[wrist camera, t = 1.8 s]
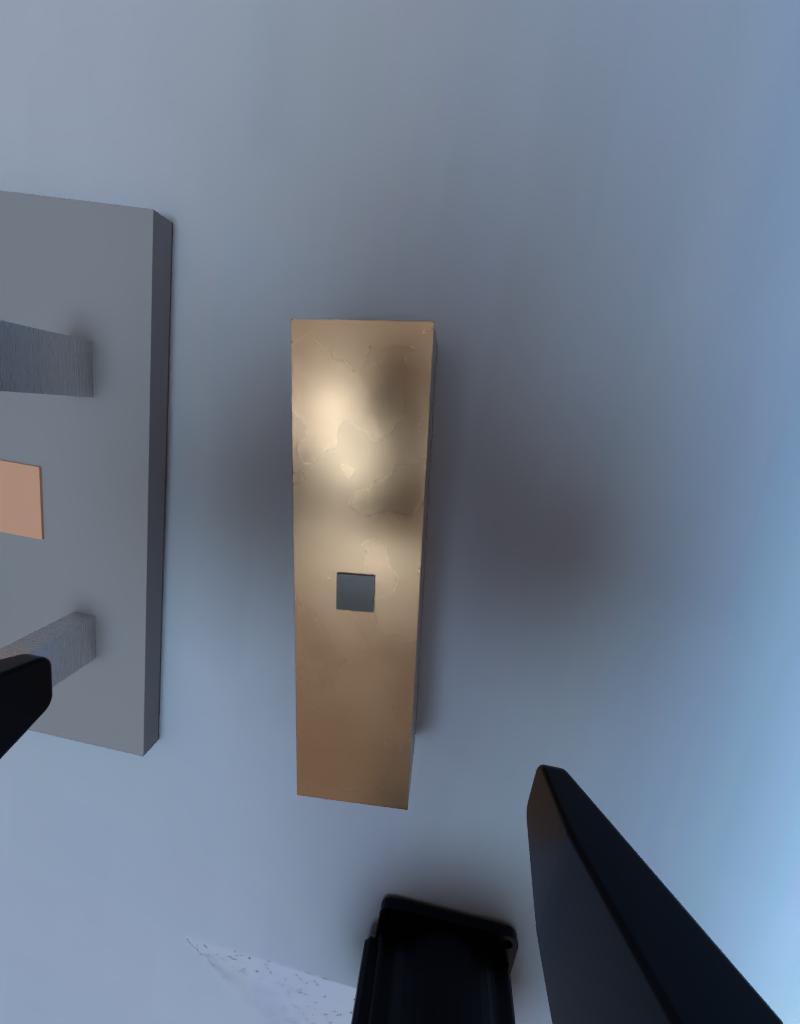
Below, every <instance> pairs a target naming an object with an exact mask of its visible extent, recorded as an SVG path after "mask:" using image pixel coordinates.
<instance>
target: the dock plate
mask: <svg viewBox="0 0 800 1024" xmlns="http://www.w3.org/2000/svg"><path fill="white" fill-rule="evenodd" d="M171 251H172V223H171V222H170V221H168V220H167V219H166V218H164V217H163V216H162V215H160V214H159V213H157V212H156V211H155V210H153V209H145V208H137V207H129V206H120V205H112V204H104V203H96V202H88V201H80V200H72V199H64V198H56V197H47V196H39V195H31V194H23V193H15V192H7V191H0V320H2V321H6V322H11V323H15V324H19V325H24V326H28V327H33V328H37V329H41V330H46V331H50V332H54V333H59V334H63V335H68V336H72V337H76V338H81V339H85V340H89V341H93V398H92V397H78V396H64V395H50V394H36V393H22V392H7V391H0V649H1V648H3V647H5V646H7V645H9V644H11V643H13V642H15V641H17V640H19V639H21V638H23V637H24V636H26V635H28V634H30V633H32V632H34V631H36V630H38V629H40V628H42V627H44V626H46V625H48V624H50V623H52V622H54V621H56V620H58V619H60V618H62V617H64V616H66V615H68V614H70V613H72V612H78V613H83V614H88V615H93V616H96V659H94V660H93V661H91V662H90V663H88V664H87V665H85V666H84V667H82V668H81V669H79V670H78V671H76V672H75V673H73V674H72V675H70V676H69V677H67V678H66V679H64V680H63V681H61V682H60V683H58V684H57V685H55V686H54V687H52V691H53V696H52V700H51V703H50V705H49V707H48V708H47V710H46V711H45V712H44V713H43V714H42V715H41V716H40V717H39V718H38V719H37V720H36V722H35V723H34V724H33V725H32V726H31V727H30V728H29V729H28V730H31V731H36V732H40V733H44V734H49V735H53V736H57V737H62V738H66V739H70V740H75V741H79V742H83V743H88V744H92V745H96V746H101V747H105V748H109V749H114V750H118V751H122V752H127V753H131V754H135V755H140V756H144V755H145V754H146V753H147V752H148V751H149V750H150V748H151V747H152V746H153V745H154V744H155V743H156V742H157V741H158V728H159V691H160V654H161V618H162V581H163V544H164V508H165V471H166V434H167V398H168V361H169V324H170V288H171Z"/></svg>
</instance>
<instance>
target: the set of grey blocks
mask: <svg viewBox="0 0 800 1024" xmlns="http://www.w3.org/2000/svg"><path fill="white" fill-rule="evenodd" d="M0 391H7V392H22V393H36V394H50V395H64V396H78V397H92V398H93V341H89V340H85V339H81V338H76V337H72V336H68V335H63V334H59V333H54V332H50V331H46V330H41V329H37V328H33V327H28V326H24V325H19V324H15V323H11V322H6V321H2V320H0ZM20 654H33V655H37V656H42V657H46V658H47V659H49V660H50V662H51V665H52V687H54V686H55V685H57V684H58V683H60V682H61V681H63V680H64V679H66V678H67V677H69V676H70V675H72V674H73V673H75V672H76V671H78V670H79V669H81V668H82V667H84V666H85V665H87V664H88V663H90V662H91V661H93V660H94V659H96V616H93V615H88V614H83V613H78V612H72V613H70V614H68V615H66V616H64V617H62V618H60V619H58V620H56V621H54V622H52V623H50V624H48V625H46V626H44V627H42V628H40V629H38V630H36V631H34V632H32V633H30V634H28V635H26V636H24V637H23V638H21V639H19V640H17V641H15V642H13V643H11V644H9V645H7V646H5V647H3V648H1V649H0V659H4V658H8V657H12V656H16V655H20Z"/></svg>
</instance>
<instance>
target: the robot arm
mask: <svg viewBox="0 0 800 1024" xmlns="http://www.w3.org/2000/svg"><path fill="white" fill-rule="evenodd" d="M52 696H53V691H52V665H51V662H50V660H49V659H47V658H46V657H42V656H37V655H33V654H20V655H16V656H12V657H8V658H4V659H0V759H1V758H2V757H3V756H4V754H5V753H6V752H7V751H8V750H9V749H10V748H11V747H12V746H13V745H14V744H15V743H16V742H17V741H18V740H19V739H20V737H21V736H22V735H23V734H24V733H25V732H26V731H27V730H28V729H29V728H30V727H31V726H32V725H33V724H34V723H35V722H36V720H37V719H38V718H39V717H40V716H41V715H42V714H43V713H44V712H45V711H46V710H47V708H48V707H49V705H50V703H51V700H52ZM527 827H528V839H529V851H530V862H531V874H532V886H533V897H534V909H535V919H536V929H537V936H538V943H539V949H540V955H541V961H542V967H543V972H544V978H545V984H546V989H547V995H548V1001H549V1006H550V1012H551V1018H552V1024H783V1022H782V1021H781V1019H780V1018H779V1017H778V1016H777V1015H776V1014H775V1012H774V1011H773V1010H772V1009H771V1008H770V1007H769V1005H768V1004H767V1003H766V1002H765V1001H764V1000H763V999H762V997H761V996H760V995H759V994H758V993H757V992H756V990H755V989H754V988H753V987H752V986H751V985H750V983H749V982H748V981H747V980H746V979H745V978H744V977H743V975H742V974H741V973H740V972H739V971H738V970H737V968H736V967H735V966H734V965H733V964H732V963H731V961H730V960H729V959H728V958H727V957H726V956H725V954H724V953H723V952H722V951H721V950H720V949H719V948H718V946H717V945H716V944H715V943H714V942H713V941H712V939H711V938H710V937H709V936H708V935H707V934H706V932H705V931H704V930H703V929H702V928H701V927H700V926H699V924H698V923H697V922H696V921H695V920H694V919H693V917H692V916H691V915H690V914H689V913H688V912H687V910H686V909H685V908H684V907H683V906H682V905H681V903H680V902H679V901H678V900H677V899H676V898H675V897H674V895H673V894H672V893H671V892H670V891H669V890H668V888H667V887H666V886H665V885H664V884H663V883H662V881H661V880H660V879H659V878H658V877H657V876H656V875H655V873H654V872H653V871H652V870H651V869H650V868H649V866H648V865H647V864H646V863H645V862H644V861H643V859H642V858H641V857H640V856H639V855H638V854H637V852H636V851H635V850H634V849H633V848H632V847H631V846H630V844H629V843H628V842H627V841H626V840H625V839H624V837H623V836H622V835H621V834H620V833H619V832H618V830H617V829H616V828H615V827H614V826H613V825H612V824H611V822H610V821H609V820H608V819H607V818H606V817H605V815H604V814H603V813H602V812H601V811H600V810H599V808H598V807H597V806H596V805H595V804H594V803H593V801H592V800H591V799H590V798H589V797H588V796H587V795H586V793H585V792H584V791H583V790H582V789H581V788H580V786H579V785H578V784H577V783H576V782H575V781H574V779H573V778H572V777H571V776H570V775H569V774H568V773H567V772H566V771H565V770H564V769H562V768H558V767H553V766H548V765H540V766H539V767H538V768H537V770H536V774H535V777H534V781H533V785H532V789H531V793H530V796H529V800H528V805H527ZM517 949H518V940H517V933H516V931H515V930H514V929H513V928H511V927H508V926H504V925H500V924H496V923H492V922H488V921H484V920H480V919H476V918H472V917H468V916H464V915H460V914H456V913H451V912H447V911H443V910H439V909H435V908H431V907H427V906H423V905H419V904H415V903H411V902H407V901H403V900H399V899H395V898H386V899H384V900H383V901H382V903H381V909H380V914H379V919H378V925H377V930H376V936H375V937H372V936H369V937H368V938H367V939H366V940H365V944H364V950H363V955H362V961H361V966H360V972H359V978H358V984H357V990H356V996H355V1002H354V1008H353V1015H352V1021H351V1024H515V1015H514V1006H513V997H512V988H511V979H510V973H511V970H512V966H513V963H514V959H515V956H516V952H517Z"/></svg>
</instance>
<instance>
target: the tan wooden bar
mask: <svg viewBox="0 0 800 1024" xmlns="http://www.w3.org/2000/svg"><path fill="white" fill-rule="evenodd" d="M291 359H292V435H293V511H294V587H295V663H296V739H297V795H301V796H309V797H316V798H324V799H331V800H338V801H346V802H353V803H361V804H368V805H375V806H383V807H390V808H398V809H405V810H408V800H409V791H410V781H411V772H412V762H413V753H414V743H415V734H416V716H417V698H418V680H419V663H420V645H421V627H422V609H423V591H424V574H425V556H426V538H427V520H428V503H429V485H430V467H431V449H432V431H433V414H434V396H435V378H436V360H437V340H436V333H435V326H434V322H430V321H374V320H318V319H291Z"/></svg>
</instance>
